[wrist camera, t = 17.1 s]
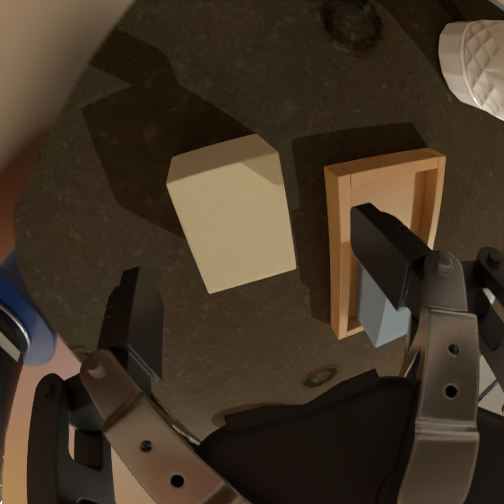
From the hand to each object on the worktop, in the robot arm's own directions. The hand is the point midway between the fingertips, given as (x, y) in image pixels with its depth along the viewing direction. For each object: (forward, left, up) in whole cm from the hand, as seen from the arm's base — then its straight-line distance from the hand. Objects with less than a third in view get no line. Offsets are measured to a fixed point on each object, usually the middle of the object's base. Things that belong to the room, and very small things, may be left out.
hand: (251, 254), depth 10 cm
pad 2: (+10, -10, -5) cm, 15 cm away
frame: (+10, -7, -6) cm, 14 cm away
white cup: (+19, +7, -6) cm, 21 cm away
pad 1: (0, 0, -6) cm, 6 cm away
